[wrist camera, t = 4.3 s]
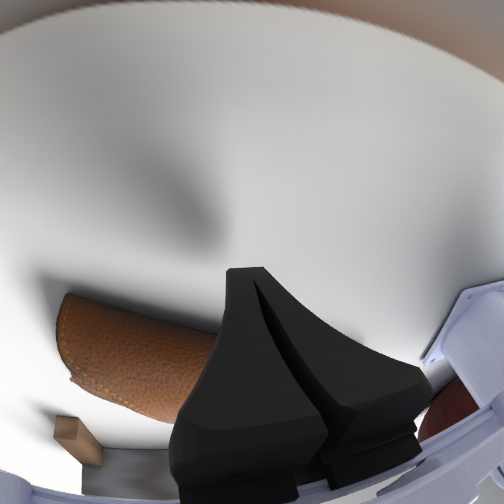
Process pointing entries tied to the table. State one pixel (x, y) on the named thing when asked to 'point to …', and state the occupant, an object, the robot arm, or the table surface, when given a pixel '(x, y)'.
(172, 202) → the table surface
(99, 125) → the table surface
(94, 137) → the table surface
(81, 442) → the dock
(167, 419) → the sunglasses case
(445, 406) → the potato
